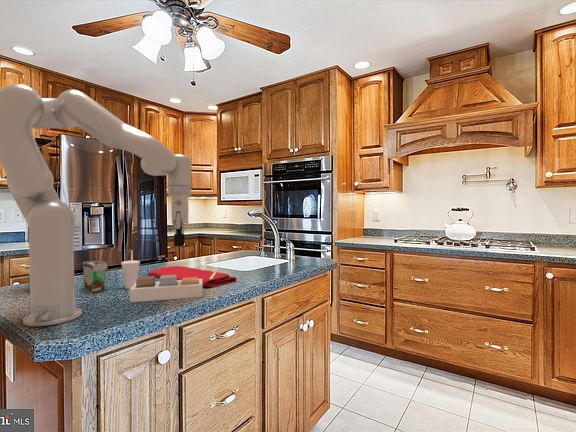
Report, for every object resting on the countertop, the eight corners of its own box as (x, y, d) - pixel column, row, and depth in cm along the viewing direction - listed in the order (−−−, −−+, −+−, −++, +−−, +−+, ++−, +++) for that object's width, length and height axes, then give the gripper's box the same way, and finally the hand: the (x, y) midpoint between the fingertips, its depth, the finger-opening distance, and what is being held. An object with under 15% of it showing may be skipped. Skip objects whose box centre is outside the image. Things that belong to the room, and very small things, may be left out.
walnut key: (153, 288, 105) (152, 278, 105) (136, 289, 104) (136, 279, 104) (155, 285, 110) (154, 275, 110) (139, 286, 109) (138, 276, 109)
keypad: (202, 297, 107) (202, 285, 107) (129, 302, 101) (129, 289, 101) (202, 289, 117) (202, 278, 117) (135, 294, 111) (135, 282, 111)
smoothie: (132, 290, 117) (132, 251, 116) (117, 289, 118) (116, 251, 118) (144, 286, 123) (143, 249, 123) (129, 285, 124) (128, 249, 124)
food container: (113, 291, 116) (112, 263, 115) (93, 294, 111) (93, 265, 111) (101, 285, 124) (101, 259, 124) (83, 288, 119) (82, 261, 119)
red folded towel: (179, 271, 155) (178, 263, 155) (237, 282, 130) (237, 273, 130) (147, 276, 143) (147, 268, 143) (205, 290, 118) (205, 280, 117)
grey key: (175, 287, 107) (175, 277, 107) (159, 288, 106) (159, 278, 106) (176, 283, 112) (176, 274, 112) (161, 284, 111) (161, 275, 110)
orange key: (197, 289, 109) (197, 280, 109) (182, 290, 108) (182, 281, 108) (197, 286, 114) (197, 277, 114) (182, 287, 112) (182, 278, 112)
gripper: (190, 190, 103) (190, 248, 103) (192, 193, 117) (191, 244, 118) (165, 190, 101) (165, 248, 101) (170, 192, 116) (169, 244, 116)
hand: (179, 246), depth 109 cm, fingers closed
